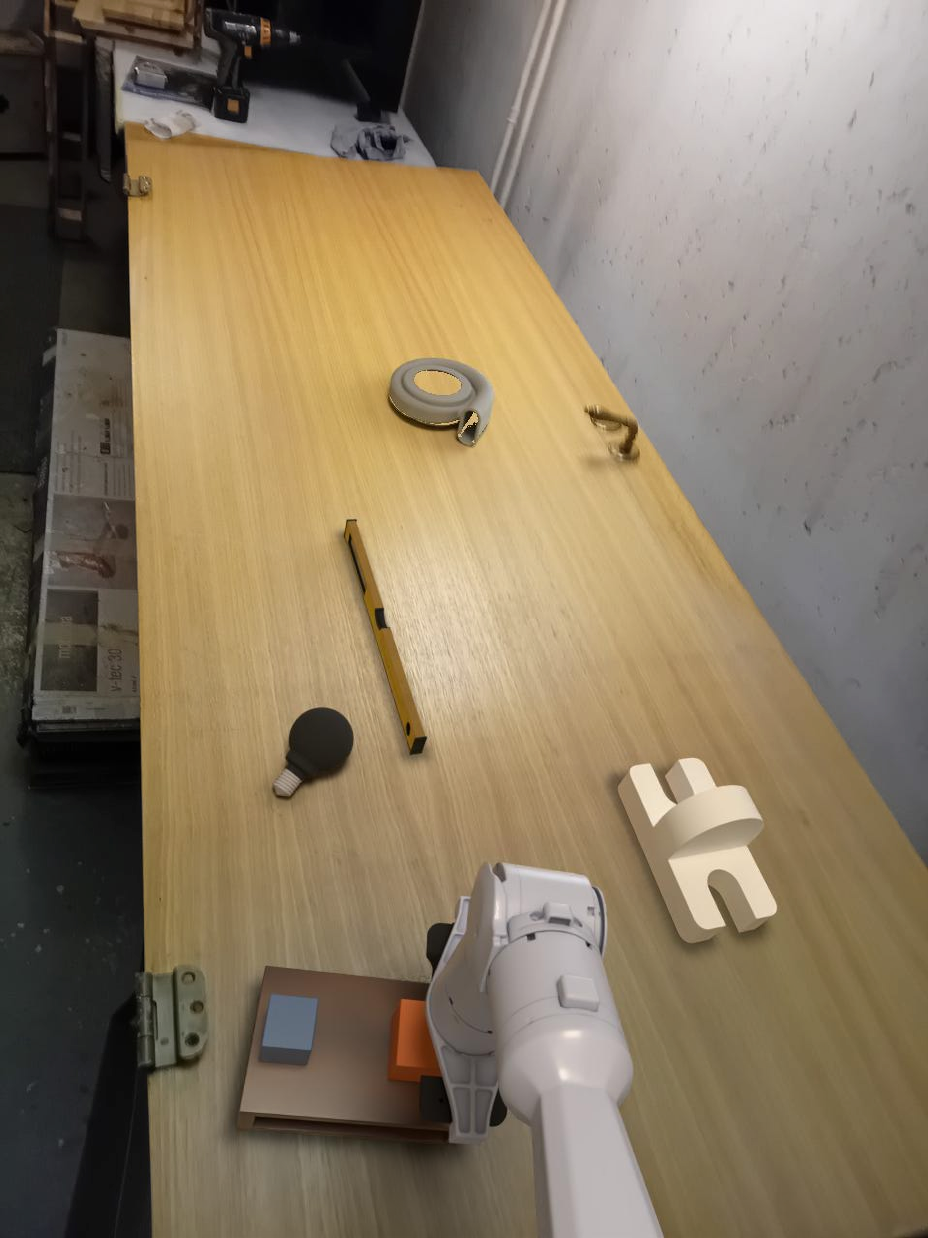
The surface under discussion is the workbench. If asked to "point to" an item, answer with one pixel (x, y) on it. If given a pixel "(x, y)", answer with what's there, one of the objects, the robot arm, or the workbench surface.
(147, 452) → the workbench surface
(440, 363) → the turbocharger housing
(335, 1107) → the shelf
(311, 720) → the light bulb
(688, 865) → the cream double-notched bracket
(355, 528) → the spirit level
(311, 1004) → the blue box
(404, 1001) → the orange box
